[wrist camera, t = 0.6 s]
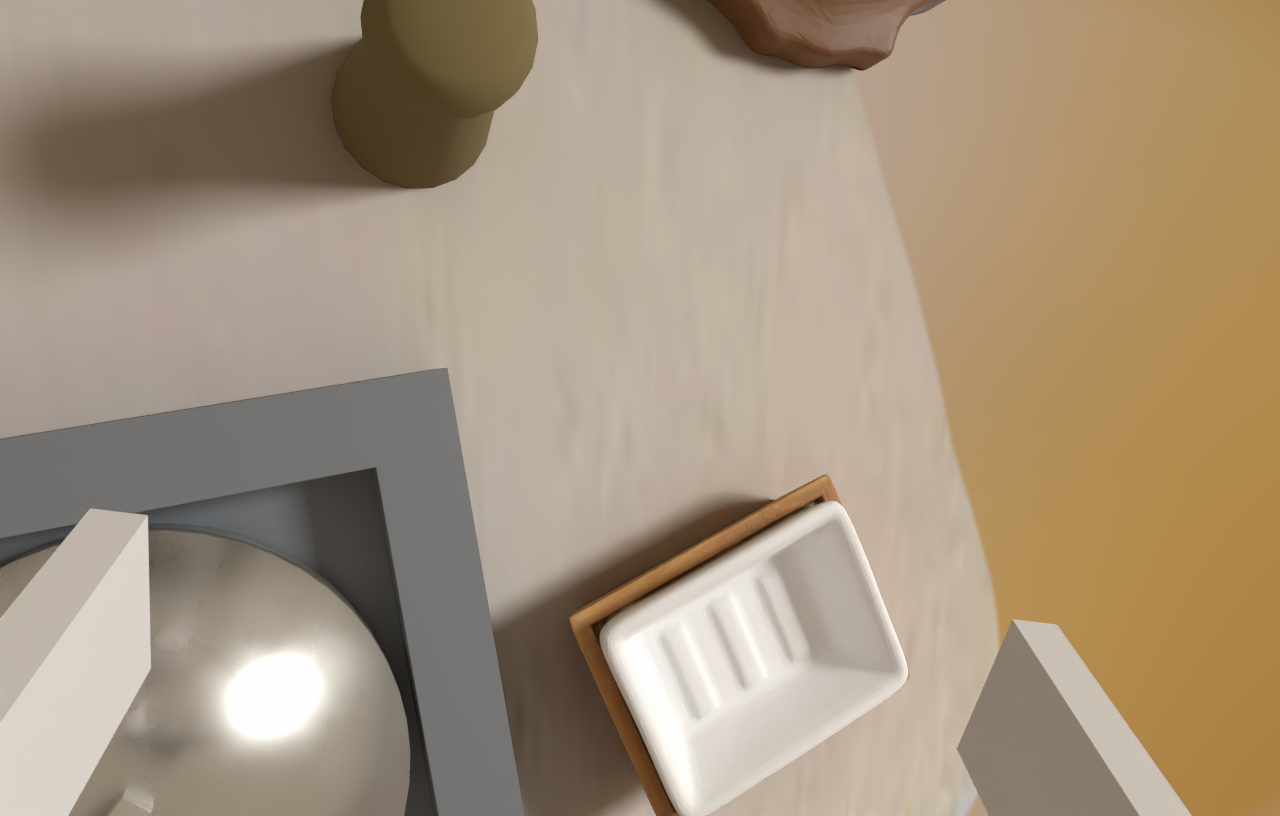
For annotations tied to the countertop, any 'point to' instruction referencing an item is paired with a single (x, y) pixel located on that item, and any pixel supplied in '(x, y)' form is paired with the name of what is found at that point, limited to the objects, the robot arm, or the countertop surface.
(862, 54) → the plant
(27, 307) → the countertop surface
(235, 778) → the dial
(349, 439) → the tray
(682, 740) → the soap dish
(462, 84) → the cork
